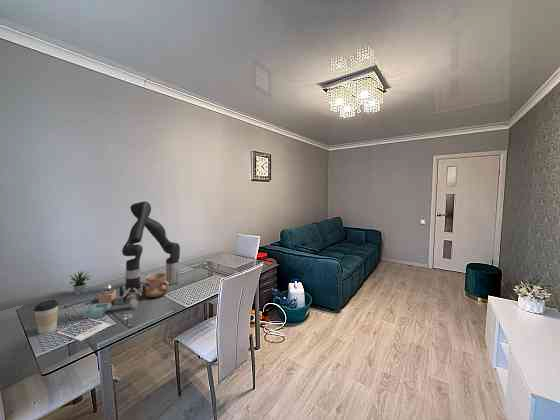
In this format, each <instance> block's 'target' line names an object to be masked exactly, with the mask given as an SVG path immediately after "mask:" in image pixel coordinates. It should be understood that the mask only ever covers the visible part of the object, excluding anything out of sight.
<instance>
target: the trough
mask: <svg viewBox="0 0 560 420" xmlns="http://www.w3.org/2000/svg"><path fill="white" fill-rule="evenodd" d="M110 308H112V302H110V303H95V304H93V305H92V306H91V307H90V308H88V310H87V311H85V312H83V314H82V320H85V318H90V319H95V318H96V319H97V317H98V318H102V317H103V316H104V314H105V313H106V312H107V311H108V310H109V309H110Z"/></svg>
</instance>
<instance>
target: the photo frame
mask: <svg viewBox="0 0 560 420" xmlns="http://www.w3.org/2000/svg"><path fill="white" fill-rule="evenodd" d="M84 320H85V321H87V320H89V321H92V322H94V321H95V322H94V323H98V325H96V326H93V327H91V328H89V329H88V330H86V331H84V332H82V333H80V334H78V335H76V336H73V335H70V334H67V333H64V331H65V330H67V329H69V327H70V328H71V326H72V327H74V326H76V325H78V324H80V322H81V323H82V321H83V322H84ZM101 323H102V324H101ZM73 325H74V326H73ZM108 327H111V324H110V323H107V322H104V321H100V320H97V319H95V318H88V319H82V320H81V321H79V322H77V323H75V324H72V325H70V326H67V327H66V328H63V329H61V330H58V331H57V332H56V333H57V334H58V335H61V336H64V335H65V336H64V337H67V336H68V337H67V338H70V337H72V338H74V339H73V340H75V339H76V341H78V342H81V341H84V340H85V339H87V338H89V337H92V336H93V335H95V334H96V333H99V332H100V331H103V330H104V329H107V328H108ZM72 338H71V339H72Z"/></svg>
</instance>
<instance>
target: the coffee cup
mask: <svg viewBox="0 0 560 420" xmlns="http://www.w3.org/2000/svg"><path fill="white" fill-rule="evenodd" d="M59 305H60V304H59V302H58V301H56V299H52V300H50V299H49V300H45V301H42V302H39V303H38V304H37V305H36V306H35V307H34V308H33V312H34V317H35V324H36V328H37V333H38V334H39V335H44V334H49V333H52V332H54V331H55V330H57V326H58V317H59V315H58V314H59Z"/></svg>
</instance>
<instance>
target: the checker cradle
mask: <svg viewBox="0 0 560 420" xmlns="http://www.w3.org/2000/svg"><path fill="white" fill-rule="evenodd" d="M123 293H124V294H125V292H123ZM126 304H127V305H130V292H128V293H127V302H124V301H123V296H119V293H118V294H116V297H115V298H114V300H113V305H114V306H116V305H117V306H119V305H126Z"/></svg>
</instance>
